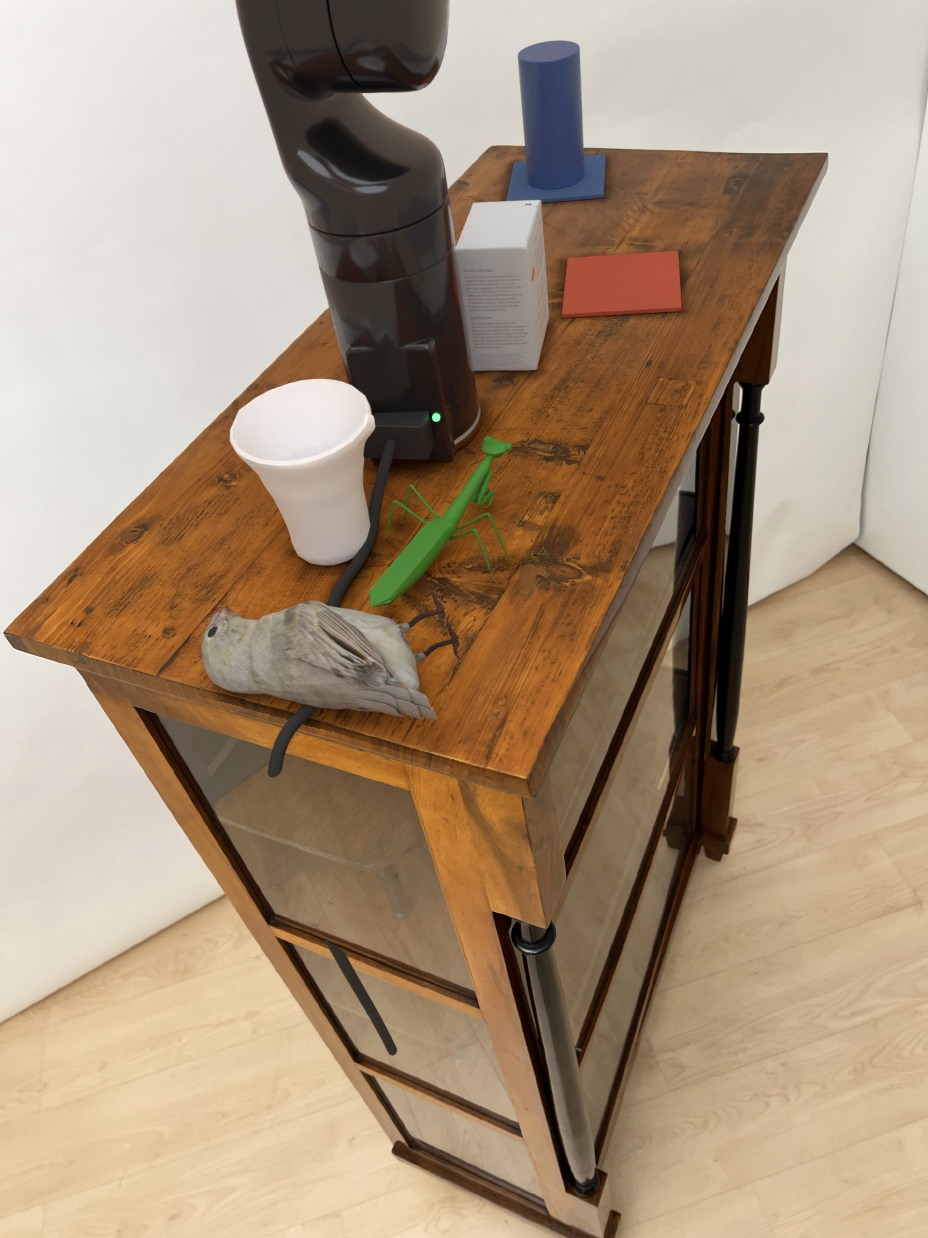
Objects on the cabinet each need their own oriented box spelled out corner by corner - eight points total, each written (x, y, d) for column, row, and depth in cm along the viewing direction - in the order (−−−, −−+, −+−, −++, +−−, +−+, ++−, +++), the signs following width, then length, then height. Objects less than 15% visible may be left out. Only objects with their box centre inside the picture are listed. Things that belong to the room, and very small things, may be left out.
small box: (487, 321, 82) (471, 200, 75) (550, 319, 81) (542, 196, 73) (469, 372, 77) (451, 248, 70) (537, 372, 76) (526, 245, 68)
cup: (382, 586, 61) (348, 463, 54) (252, 576, 63) (202, 456, 56) (419, 497, 67) (392, 375, 59) (298, 491, 69) (258, 372, 62)
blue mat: (603, 197, 96) (603, 193, 96) (506, 205, 98) (505, 201, 97) (605, 157, 103) (605, 153, 102) (514, 165, 104) (514, 161, 104)
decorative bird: (202, 578, 57) (155, 682, 53) (451, 573, 52) (421, 688, 47) (242, 631, 61) (201, 731, 57) (477, 631, 56) (451, 742, 51)
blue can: (594, 178, 98) (590, 49, 90) (542, 194, 97) (533, 66, 89) (569, 160, 102) (562, 35, 94) (518, 175, 101) (507, 50, 93)
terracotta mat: (681, 311, 79) (681, 306, 79) (561, 317, 81) (561, 313, 81) (678, 254, 86) (678, 250, 86) (567, 261, 88) (567, 257, 87)
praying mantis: (563, 511, 64) (562, 456, 61) (437, 652, 56) (427, 597, 53) (451, 473, 69) (444, 420, 65) (318, 600, 60) (303, 546, 57)
